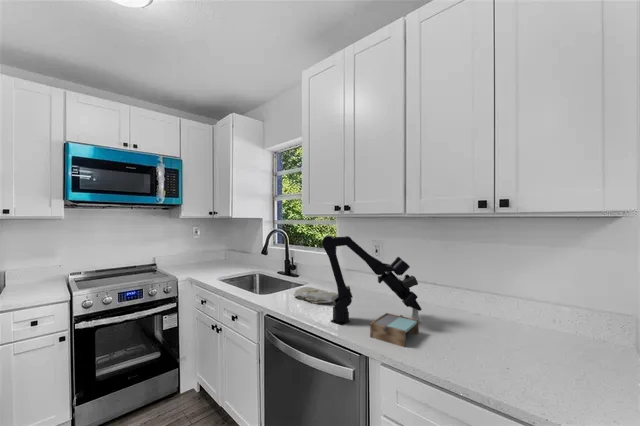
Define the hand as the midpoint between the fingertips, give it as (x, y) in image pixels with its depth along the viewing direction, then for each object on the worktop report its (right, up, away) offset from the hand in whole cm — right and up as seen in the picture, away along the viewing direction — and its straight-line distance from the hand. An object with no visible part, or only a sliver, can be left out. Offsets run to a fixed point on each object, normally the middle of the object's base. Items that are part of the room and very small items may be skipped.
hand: (418, 307), depth 130 cm
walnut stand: (-15, -7, -14) cm, 21 cm away
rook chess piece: (-1, -7, 0) cm, 7 cm away
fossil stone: (-46, -7, +34) cm, 58 cm away
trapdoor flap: (-14, -3, -14) cm, 20 cm away
